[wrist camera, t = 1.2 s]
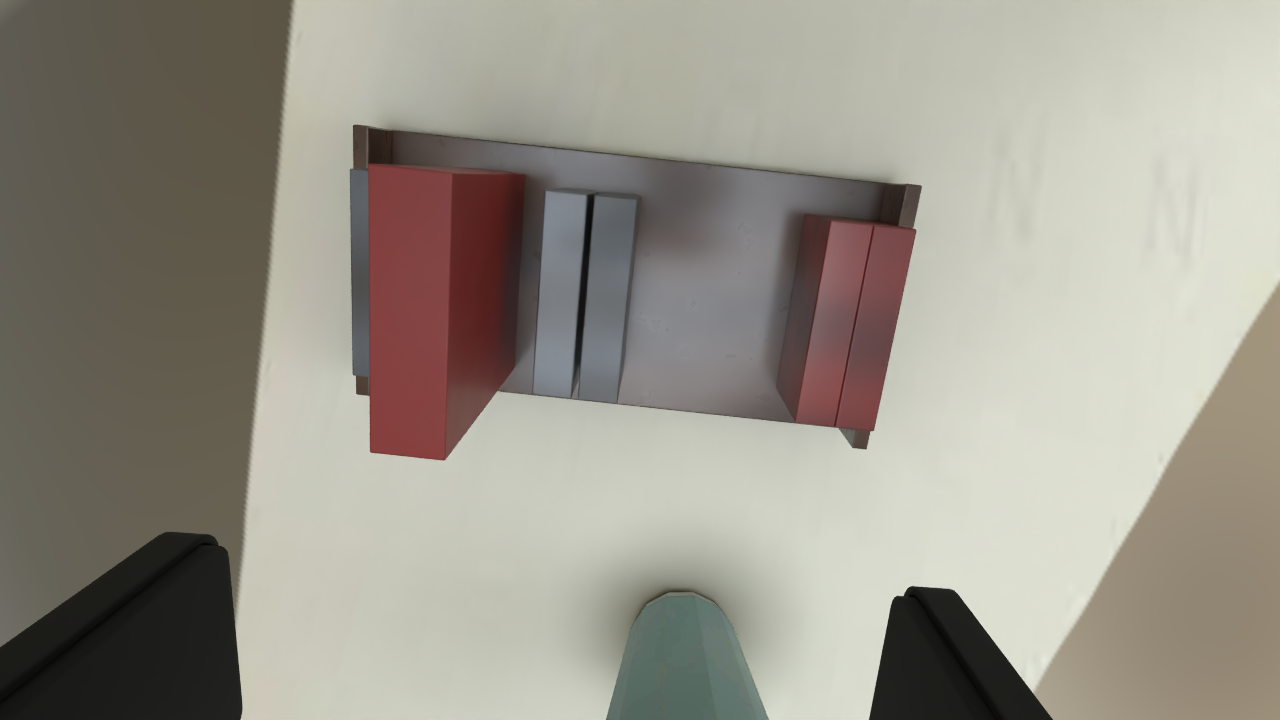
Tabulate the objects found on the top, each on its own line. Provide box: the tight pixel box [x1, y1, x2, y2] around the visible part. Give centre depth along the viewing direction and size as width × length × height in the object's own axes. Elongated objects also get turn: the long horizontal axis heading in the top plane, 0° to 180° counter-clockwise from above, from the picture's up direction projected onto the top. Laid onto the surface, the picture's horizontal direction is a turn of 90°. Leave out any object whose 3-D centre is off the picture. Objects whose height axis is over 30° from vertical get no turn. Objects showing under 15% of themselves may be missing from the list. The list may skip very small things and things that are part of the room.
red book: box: [368, 164, 525, 460], centre depth 31 cm, size 11×3×13 cm, turn 174°
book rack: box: [350, 125, 922, 449], centre depth 35 cm, size 14×28×7 cm, turn 84°
